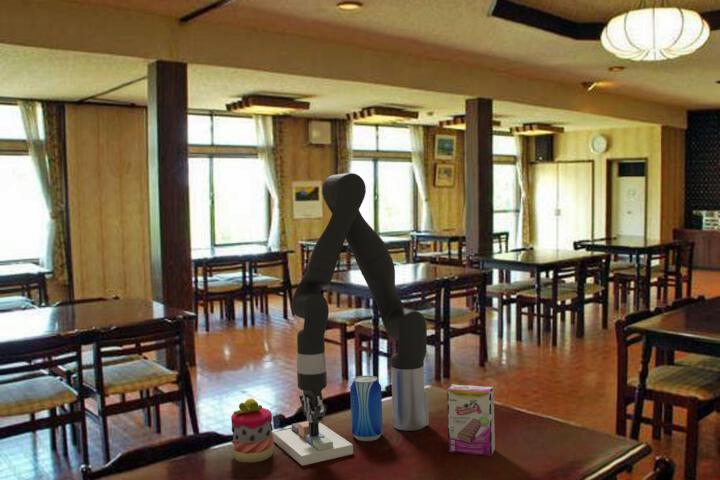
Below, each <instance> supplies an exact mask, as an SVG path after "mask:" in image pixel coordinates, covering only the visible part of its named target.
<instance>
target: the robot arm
mask: <svg viewBox="0 0 720 480" xmlns="http://www.w3.org/2000/svg"><path fill="white" fill-rule="evenodd" d="M321 188H322V189H321V193H322V197H323V200H324V202H325V204H326V206H327V207H328V209H329V211H330V212H331V216H330V219H329V221H328V223H327V225H326V227H325V229H323V232H322V233H321V235H320V237H319V238H318V240H317V241H316V242H315V245H314V247H313V250H312V252H311V255H310V258H309V260H308V263H307V267H306V272H305V274H304V275H303V277H302V278H301V280H300V281H299V284H298V286H297V287H296V289H295V292H294V293H293V296H292V300H291V310H292V313H293V314H294V315H295V316H296V317H297V318H299V319H303V328H302V329H299V331H298V332H297V336H296V343H297V344H296V345H297V346H296V347H297V351H296V352H297V355H296V356H297V357H296V369H297V370H296V376H297V377H296V378H297V380H296V381H297V389H299V390H301V391H302V394H300V395H299V401H300V404H301V407H302V412H303V415H304V417H305V418H306V421H309V435H310V436H312V437H314V436H318V435H319V423H320V422H323V420H324V418H325V414H326V412H327V410H328V405H327V404H323V401H324V400H323V394H322V390H323V389H325V388H326V387H327V386H328V381H327V380H328V379H327V377H328V376H327V356H326V352H325V351H326V350H325V348H326V347H325V334H326V331H327V330H326V329H327V325H328V320H329V310H330V309H329V304H328V301H327V299H326V297H325V296H324V295H323V294H320V293H321V291H322V289H323V288H324V287H327V286H329V285H330V284H331V282H332V280H333V277H334V274H335V270H336V267H337V264H338V261H339V257H340V254H341V251H342V249H343V247H344V243H345V242H346V243H347V244H348V247H349V249H350V251H351V252H352V255H353V257H354V260H355V263H356V265H357V266H358V269H359V271H360V273H361V275H362V277H363V279H364V281H365V283H366V286H368V289H369V291H370V294H371V296H372V297H373V300H374V302H375V304H376V307H377V310H378V313H379V316H380V318H381V322H382V324H383V327H384V330H385V333H387V335H388V336H389V337H391V338H392V339H394V340H396V341H398V342H397V343H398V347H397V348H398V350H397V352H396V353H394V354H393V355H391V357H390V369H391V370H390V372H391V373H390V374H391V376H390V377H391V394H392V395H391V398H392V399H391V400H392V401H391V402H392V403H391V404H392V426H393V428H395V429H397V430H399V431H406V432H407V431H408V432H409V431H419V430H422V429H424V428H425V427H426V426H429V424H430V421H429V420H430V419H429V418H430V417H429V395H428V391H426V389H425V358H426V355H427V343H428V342H427V336H428V335H427V334H428V333H427V331H428V330H427V329H428V328H427V322H426V318H425V316H424V315H423V314H422V313H421V312H420V311H418V310H414V309H410V308H407V307H405V305H404V303H403V301H402V299H401V298H400V296H399V293H398V291H397V287H396V270H395V264H394V262H393V261H394V260H393V258H392V255H391V253H390V251H389V248H388V247H387V245H386V244H385V241H384V240H383V238H381V236H380V235H379V234H378V233H377V232H376V231H375V230H374V229H373V227H372V226H371V225H370V224H369V223H368V222H367V221H366V220H365V218H364V217H363V215H362V213H361V212H360V208H361V206H362V204H363V202H364V200H365V197H366V193H367V187H366V184H365V181H364V179H363V178H362V177H361V176H360V175H359V174H357V173H353V172H352V173H351V172H347V173H339V174H338V173H337V174H332V175H330V176H328V177H326V179H325V180H324V181H323V184H322V187H321ZM345 240H346V241H345Z"/></svg>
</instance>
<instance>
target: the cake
mask: <svg viewBox="0 0 720 480" xmlns="http://www.w3.org/2000/svg"><path fill="white" fill-rule="evenodd" d="M238 408H239V410H235V411H233V413H232V414H231V416H230V417H231V419H230V420H231V421H230V422H231V432H232V437H233V439H232V440H231V444H233V445H234V446H233V459H234V460H236V461H237V462H240V463H246V462H248V463H258V462H263V461H265V460H268V459H269V457H270V458H271V457H272V456H273V454H274V453H273V444H274V443H275V442H274V437H273V432H274V431H273V430H274V427H273V425H272V422H273V415H272V411H271V410H270V409H269V408H268V409H267V408H264V407H263V406H262V405H261V404H259V403H258V401H256V400H255V399H253V398H248V399H246V400H245V401H244V402H240V403H239V405H238Z"/></svg>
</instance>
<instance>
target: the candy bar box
mask: <svg viewBox="0 0 720 480" xmlns="http://www.w3.org/2000/svg"><path fill="white" fill-rule="evenodd" d="M446 392H447V393H446V396H447V397H446V398H447V438H448V439H447V440H448V445H447V446H448V448H447V449H448V452H449V453H455V454H465V455H466V454H467V455H477V456H487V457H493V454H494V452H495V450H496V449H495V448H496V440H495V438H496V437H495V388H494V386H493V387H492V386H483V385H482V386H480V385H465V384H450V385H449V387H447V391H446Z"/></svg>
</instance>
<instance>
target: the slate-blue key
mask: <svg viewBox="0 0 720 480" xmlns="http://www.w3.org/2000/svg"><path fill="white" fill-rule="evenodd" d="M305 435H306V442H307V443H308V444H310V445H313V440H315V439H320V438H324V437H325V436H324V435H323V434H321V433H320V432H319V435H318V436H314V437H312V436H310V435H309V434H305Z"/></svg>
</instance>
